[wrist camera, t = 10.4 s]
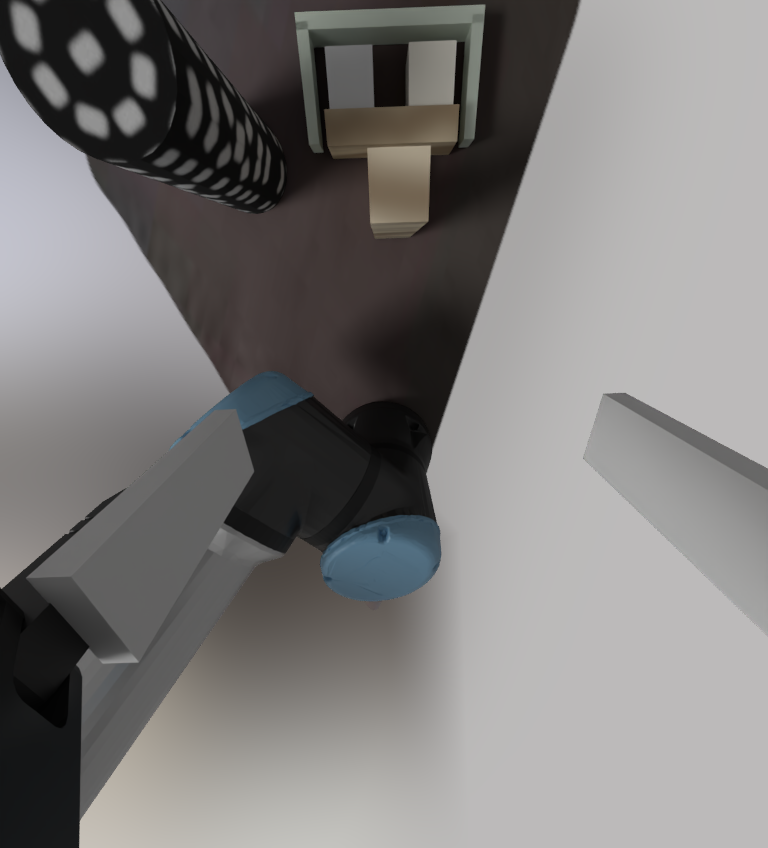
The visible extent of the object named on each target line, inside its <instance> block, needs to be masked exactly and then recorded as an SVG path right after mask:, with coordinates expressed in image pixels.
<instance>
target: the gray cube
mask: <svg viewBox="0 0 768 848" xmlns="http://www.w3.org/2000/svg"><path fill="white" fill-rule="evenodd" d="M325 58H326V70H327V82H328V94H329V106H330V109H345V108H372V107H374V79H373V53H372V44H370V45H345V46H325Z"/></svg>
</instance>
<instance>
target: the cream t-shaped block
mask: <svg viewBox="0 0 768 848" xmlns="http://www.w3.org/2000/svg"><path fill="white" fill-rule="evenodd" d="M324 112H325V124H326V135H327V146H328V148H329V150H330V152H331V155H332V157H333V159H343V158H368V177H369V200H370V223H371V227H372V230H373V234H374V237H375V239H380V238H409V237H411V236H412V235H413V234H414V233H415V232H417V231H418V230H419V229H420V228H421V227H422V226H424V225H425V224H426V223H427V222H428V219H429V187H430V156H431V155H449V153H450V152H451V150H452V149H453V147H454V145H455V144H456V142H457V135H458V119H459V104H452V105H425V106H398V107H372V108H345V109H324Z"/></svg>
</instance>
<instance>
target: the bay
mask: <svg viewBox="0 0 768 848" xmlns="http://www.w3.org/2000/svg"><path fill="white" fill-rule="evenodd" d="M294 13H295V22H296V31H297V40H298V49H299V58H300V67H301V76H302V85H303V94H304V103H305V112H306V121H307V130H308V140H309V146H310V147H311V149H312V150H313V152H314V153H324V151H323V140H322V130H321V119H320V108H319V98H318V87H317V76H316V66H315V55H314V48H315V47H325V46H345V45H370V44H372V45H392V44H409V42H422V41H446V40H457V42H465V49H464V65H463V81H462V96H461V112H460V127H459V143H458V148H463V147H468V146H469V145H470V144H471V142H472V141H473V140H474V136H475V124H476V112H477V100H478V88H479V75H480V63H481V51H482V39H483V27H484V15H485V5H464V6H439V7H414V8H389V9H364V10H339V11H314V12H294Z"/></svg>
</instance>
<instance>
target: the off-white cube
mask: <svg viewBox="0 0 768 848" xmlns="http://www.w3.org/2000/svg"><path fill="white" fill-rule="evenodd" d="M456 44H457V40H446V41H422V42H409V45H408V53H407V61H406V106H425V105H452V104H453V100H454V81H455V63H456Z"/></svg>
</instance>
